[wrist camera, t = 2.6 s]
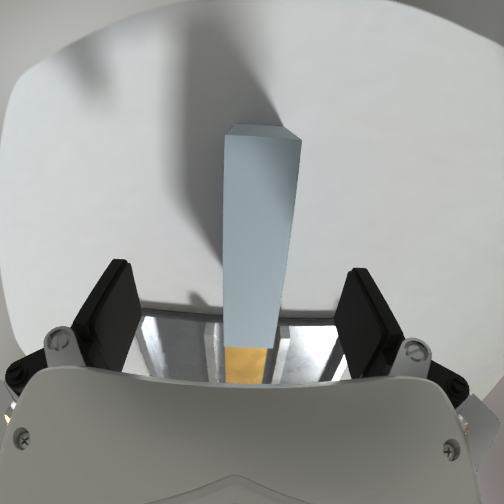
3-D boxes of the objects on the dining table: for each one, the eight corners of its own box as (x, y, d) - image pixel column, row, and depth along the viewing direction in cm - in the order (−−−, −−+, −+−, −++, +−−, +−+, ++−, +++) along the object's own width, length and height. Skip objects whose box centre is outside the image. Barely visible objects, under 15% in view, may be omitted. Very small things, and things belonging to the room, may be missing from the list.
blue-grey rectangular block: (283, 126, 16) (301, 140, 10) (268, 280, 22) (273, 348, 16) (236, 123, 16) (225, 135, 10) (231, 279, 22) (224, 346, 16)
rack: (353, 318, 24) (360, 337, 22) (312, 405, 33) (314, 420, 31) (141, 308, 24) (132, 326, 22) (171, 399, 33) (168, 414, 31)
